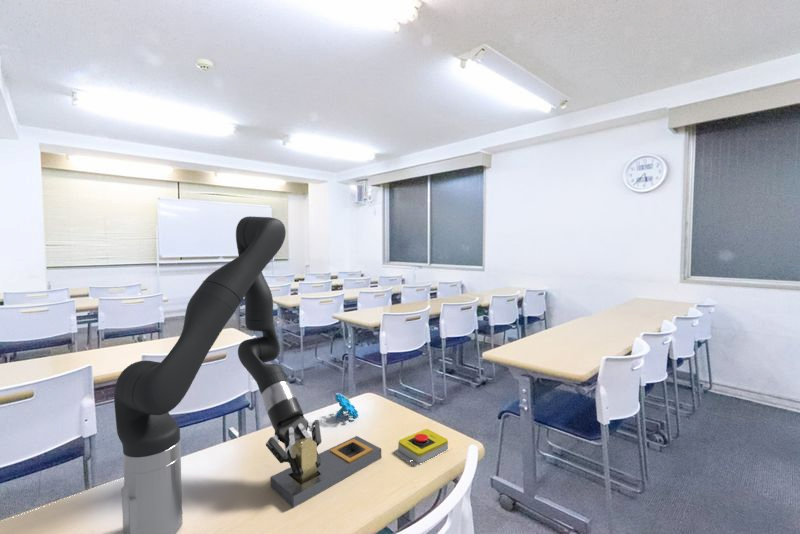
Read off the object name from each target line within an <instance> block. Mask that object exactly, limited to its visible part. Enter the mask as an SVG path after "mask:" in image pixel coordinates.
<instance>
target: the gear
mask: <svg viewBox="0 0 800 534" xmlns="http://www.w3.org/2000/svg"><path fill="white" fill-rule="evenodd" d="M335 400H336V401H337V402H338V406H339V407H341V408H339V410H338V412H337V413H336V414H335V417H336V418H337V419H339V417H340V416H342V414H343V413H344V412H345V413H347V412H348V415H349V417H353V419H356V418H358V416H359V413H358V410H357V409H356V407H355V405H353V404H352V403H351V401H350V399H349V398H346V396H344V395H342V394H341V393H337V394H336V395H335Z"/></svg>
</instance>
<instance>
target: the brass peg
mask: <svg viewBox="0 0 800 534" xmlns="http://www.w3.org/2000/svg"><path fill="white" fill-rule="evenodd" d="M293 445H294V450H295V452H296V458H298V460H299V463H300V465H301V468H302V469H303V475H302V476H300V477H297V475H296V476H295V475H294V474H293V479H294V480H295V481H297V482H298V483H299V484H301V485H302V484H304V483H306V482H308V481H309V480H311V479H313V478H315V477H317V452H318V450H317V448H318V447H317V443H316V442H315V441H313V440H311V439H310V438H303V439H301V440H298V441H296V442H295V443H294V444H293Z"/></svg>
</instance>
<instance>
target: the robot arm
mask: <svg viewBox="0 0 800 534" xmlns="http://www.w3.org/2000/svg"><path fill="white" fill-rule="evenodd" d="M235 229H236V230H235V241H236V247H237V253H238V256H237V257H235V258H234V259H233V260H230V261H229V262H227V263H226V264H224V265H222V266H221V267H219V268H217V269H216V270H215V271H213V272H212V273H210V274H209V275H208V276H207V277H206V278H205V279H204V280H203V282H201V284H200V285H199V287H198V288H197V290H196V291H195V292H194V293H193V294H192V296H191V297H190V299H189V301H188V303H187V304H186V305H187V306H186V311H185V316H184V322H183V328H182V331H181V334H180V335H179V338H178V340H177V341H176V343H175V344H174V346H173V347H172V348H171V349H170V351H169V352H168V354H167V355H166V357H165V358H163V360H162V361H161V362H160V361H153V360H139V361H135V362H134V363H131V364H129V365H128V366H126V367H125V368H124V369H123V371H121V373H120V374H119V376H118V378H117V381H115V382H116V383H115V386H114V392H113V393H114V396H113V397H114V398H113V399H114V404H113V405H114V415H115V425H116V427H115V428H116V432H117V433H116V435H117V437H118V438H119V439H118V440H120V442H121V444H122V454H123V455H122V457H123V483H124V484H123V487H122V488H121V505H122V506H121V508H122V534H176V533H177V532H178V531H179V530H180V529H181V527H182V524H183V514H184V513H183V496H182V495H183V493H182V457H181V456H182V455H181V454H182V452H181V429H180V428H181V427H180V424H179V423H178V422H177V421H176V420H175V419H174V418H173V417H172V416H171V414H170V413H169V412H171V411H172V410H174V409H175V408H176V407H177V406H178V405H180V403H181V402H182V400H183V399H184V398H185V396H186V395H187V393H188V391H189V389H190V388H191V386H192V383H193V382H194V380H195V378H196V376H197V375H198V372H199V370H200V369H201V366H202V364H203V363H204V362H205V359H206V357H207V356H208V353H209V351H210V350H211V349H212V347H213V346H214V344H215V342H216V341H217V339H218V337H219V336H220V335H221V332H222V331H223V329H224V328H225V326H226V325H227V324H228V322H229V321H230V319H231V318H232V316H233V315H234V314H235V312H236V310H237V309H238V307H239V306H240V304H241V303H242V301H243V300H244V301H245V303H244V314H245V315H244V316H245V318H244V320H245V321H244V323H245V327H246V329H247V330H249V331H251V332H252V331H253V332H261V333H262V336H259V337H255V338H249V339H245V340H243V341H241V343H240V344H239V346H238V348H237V357H238V359H239V361H240V363H241V365H242V366H243V367H244V368H245V369H246V371H247V372H248V373H249V375H250V376H251V377H252V378H253V379H254V381H255V382H256V384H257V387H258V389H259V392H260V395H261V399H262V403H263V406H264V408H265V409H264V410H265V411H266V414H267V415H268V417H269V418H268V419H269V421H270V423H271V425H272V428H273V431H274V435H273V436H271V437H270V438H269V439H268V440H267V441H266V442H265V446H266V448H267V449H268V450H269V451H270V453H271V454H272V455H273V456H274V458H276V460H277V461H278V463H280V464H284V463H289V466H290V467H291V469H292V471H293V474H294V475H295V476H296V475H297V477H300V476H302V475H303V469H302V468H301V465H300V463H299V460H298V458H296V452H295V450H294V445H293V444H294V443H295V442H296V441H298V440H301V439H303V438H310V439H311V440H313V441H315V442H316V443H317V448H318V447H319V445H321V443H322V435H321V428H320V421H319V420H318V419H315V420H314V421H308V420H307V419H306V418H305V416H304V413H303V410H302V407H301V405H300V403H299V400H298V398H297V396H296V393H295V391H294V389H293V388H292V386H291V384H290V382H289V380H288V377H287V376H286V374H285V371H284V369H283V367H282V366H281V365H279V364H278V363H277V364H275V363H273V364H272V363H269V362H273V361H275V360H276V359H277V358H278V356H279V355H280V351H281V347H280V342H279V339H278V336H277V333H276V328H275V323H274V298H273V293H272V291H271V289H270V287H269V285H268V282H267V281H266V278H265V276H264V274H263V270H264V269H265V268H266V266H267V265H268V264H269V263H270V262H271V261H272V259H274V257H275V256H276V255H277V253H279V251H280V249H281V248H282V246H283V244H284V242H285V239H286V233H287V231H286V227H285V224H284V223H283V222H282V221H281V220H280V219H279V218H275V217H270V216H245V217H242V218H241V219H240V220H239V221H238V223H237V225H236V228H235ZM308 429H309V432H311V434H310V433H309V432H308ZM279 441H280V442H281V443H283V446H284V448H283V447H282V446H281V445H280V444H279ZM319 454H320V453H319V452H318V451H317V468H318V467H319V466H320V463H321V459H320V456H319Z"/></svg>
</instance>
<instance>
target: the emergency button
mask: <svg viewBox="0 0 800 534" xmlns="http://www.w3.org/2000/svg"><path fill="white" fill-rule="evenodd" d="M448 443H449V440H448V438H445V437H444V436H442V435H440V434H439V433H436V432H434V431H433V430H430V429H429V428H426V429H425V428H424V429H422V430H420V431H417V432H415V433H413V434H411V435H408V436H406V437H403V438H400V439H399V440H398V445H397V447H398V448H397V449H395V450H394V454H395V455H396V454H397V456H398V457H399V456H400V458H401V459H402V458H403V460H404V461H405V460H406V461H405V462H407V463H408V464H410V465H411V464H412V465H411V466H413V465H414V466H413V467H418V466H420V465H421V464H420V463H422V464H424V463H426V462H425V461H427V460H429V459H431V458H433V457H435V456H437V455H438V454H440V453H442V452H444V451H446V450H447V449H448ZM437 457H438V456H437ZM435 458H436V457H435ZM433 459H434V458H433ZM410 460H413V461H411V462H410ZM431 460H432V459H431ZM429 461H430V460H429ZM423 462H424V463H423ZM427 462H428V461H427ZM417 465H418V466H417Z"/></svg>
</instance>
